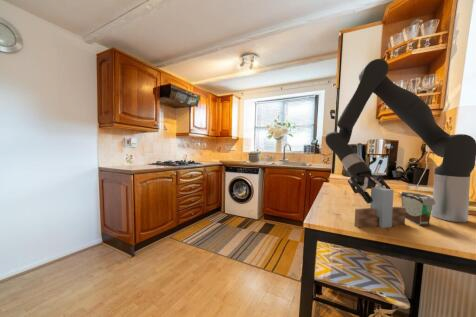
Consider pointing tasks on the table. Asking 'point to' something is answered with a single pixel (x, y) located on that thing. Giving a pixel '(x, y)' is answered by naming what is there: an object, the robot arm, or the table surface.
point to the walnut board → (369, 217)
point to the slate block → (382, 205)
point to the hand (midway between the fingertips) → (380, 202)
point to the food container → (417, 207)
